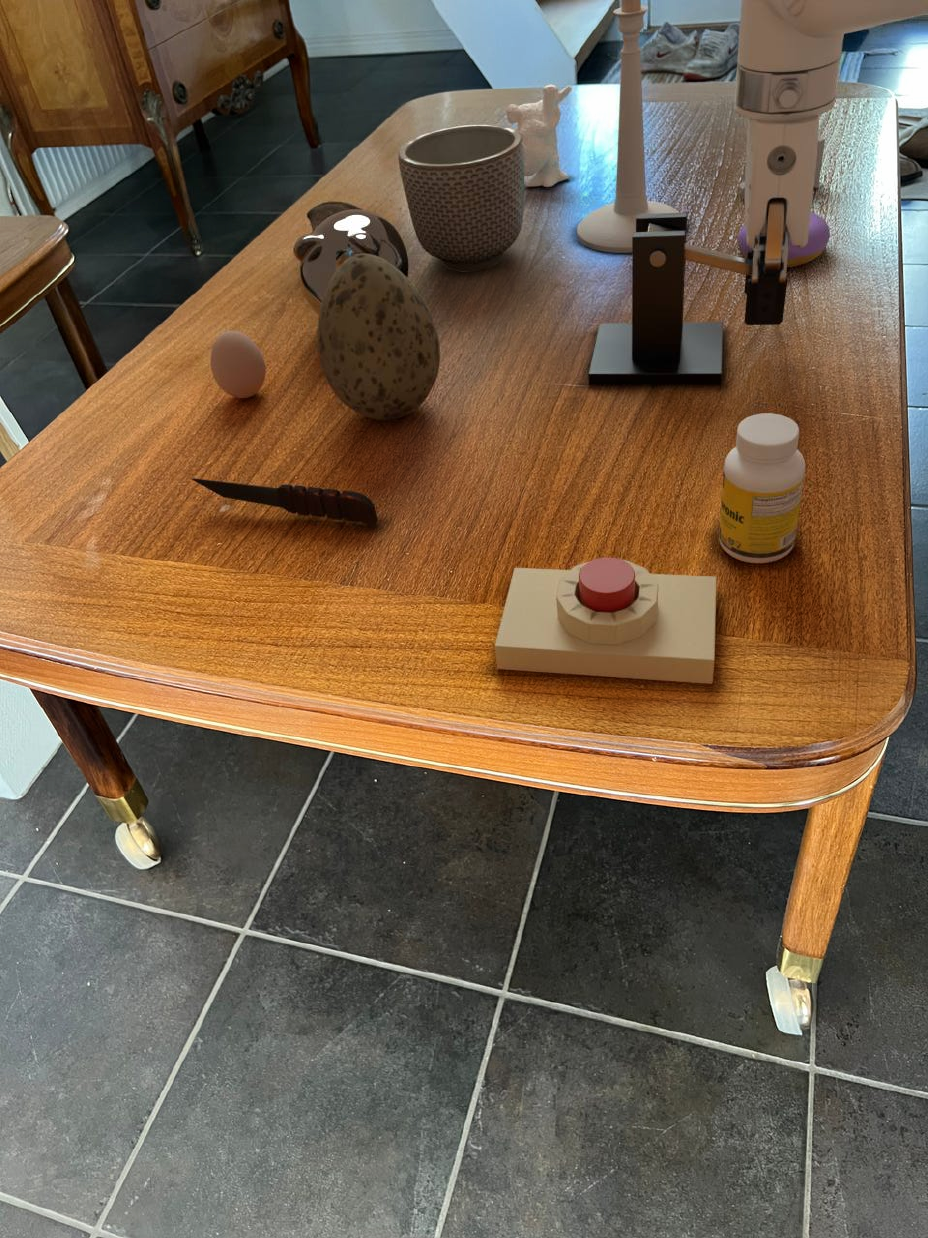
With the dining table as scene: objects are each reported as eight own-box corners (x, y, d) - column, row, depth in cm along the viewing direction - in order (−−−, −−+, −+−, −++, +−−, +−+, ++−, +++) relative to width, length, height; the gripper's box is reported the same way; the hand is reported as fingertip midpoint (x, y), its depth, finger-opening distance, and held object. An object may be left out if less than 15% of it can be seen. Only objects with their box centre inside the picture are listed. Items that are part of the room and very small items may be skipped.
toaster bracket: (722, 332, 94) (732, 199, 85) (721, 385, 87) (731, 245, 78) (599, 334, 96) (597, 205, 88) (588, 385, 89) (584, 250, 81)
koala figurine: (578, 173, 130) (574, 75, 122) (571, 191, 126) (567, 91, 118) (517, 175, 132) (510, 80, 124) (508, 194, 128) (500, 95, 120)
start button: (637, 578, 64) (637, 557, 62) (632, 614, 61) (632, 594, 60) (583, 575, 64) (582, 555, 63) (576, 611, 62) (575, 591, 61)
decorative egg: (322, 403, 93) (284, 251, 83) (425, 372, 95) (400, 220, 85) (354, 457, 85) (316, 296, 75) (465, 421, 87) (443, 260, 77)
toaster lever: (772, 275, 86) (783, 249, 85) (773, 300, 83) (784, 274, 81) (642, 242, 87) (650, 216, 85) (638, 265, 83) (646, 239, 81)
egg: (282, 392, 95) (264, 329, 91) (238, 414, 93) (218, 350, 88) (255, 377, 98) (236, 314, 94) (212, 397, 96) (191, 335, 92)
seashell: (317, 234, 124) (318, 178, 119) (386, 244, 124) (389, 188, 120) (291, 287, 112) (291, 227, 107) (367, 297, 112) (370, 238, 108)
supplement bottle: (711, 523, 72) (719, 410, 66) (783, 516, 72) (799, 402, 65) (725, 569, 68) (736, 454, 62) (802, 562, 68) (822, 446, 61)
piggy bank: (293, 357, 100) (264, 250, 93) (337, 293, 111) (315, 192, 103) (394, 357, 98) (373, 247, 90) (429, 292, 108) (414, 187, 100)
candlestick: (648, 201, 120) (653, -92, 100) (707, 232, 111) (724, -83, 91) (558, 228, 117) (543, -68, 97) (610, 262, 108) (606, -56, 88)
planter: (536, 232, 117) (529, 118, 108) (524, 282, 107) (515, 161, 98) (426, 239, 120) (410, 128, 111) (404, 288, 110) (385, 170, 101)
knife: (197, 506, 82) (186, 478, 80) (203, 500, 83) (192, 471, 81) (375, 529, 77) (368, 498, 75) (379, 522, 78) (372, 491, 76)
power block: (714, 600, 66) (718, 555, 64) (712, 684, 61) (716, 639, 58) (516, 590, 70) (512, 547, 67) (497, 669, 64) (491, 626, 61)
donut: (801, 277, 99) (797, 229, 97) (723, 277, 106) (718, 233, 103) (847, 241, 104) (845, 195, 101) (770, 244, 110) (766, 201, 108)
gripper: (845, 118, 67) (811, 354, 79) (830, 51, 79) (802, 266, 91) (734, 124, 69) (717, 355, 81) (735, 58, 80) (721, 268, 93)
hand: (762, 305), depth 86 cm, fingers closed on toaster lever, 5 cm apart
